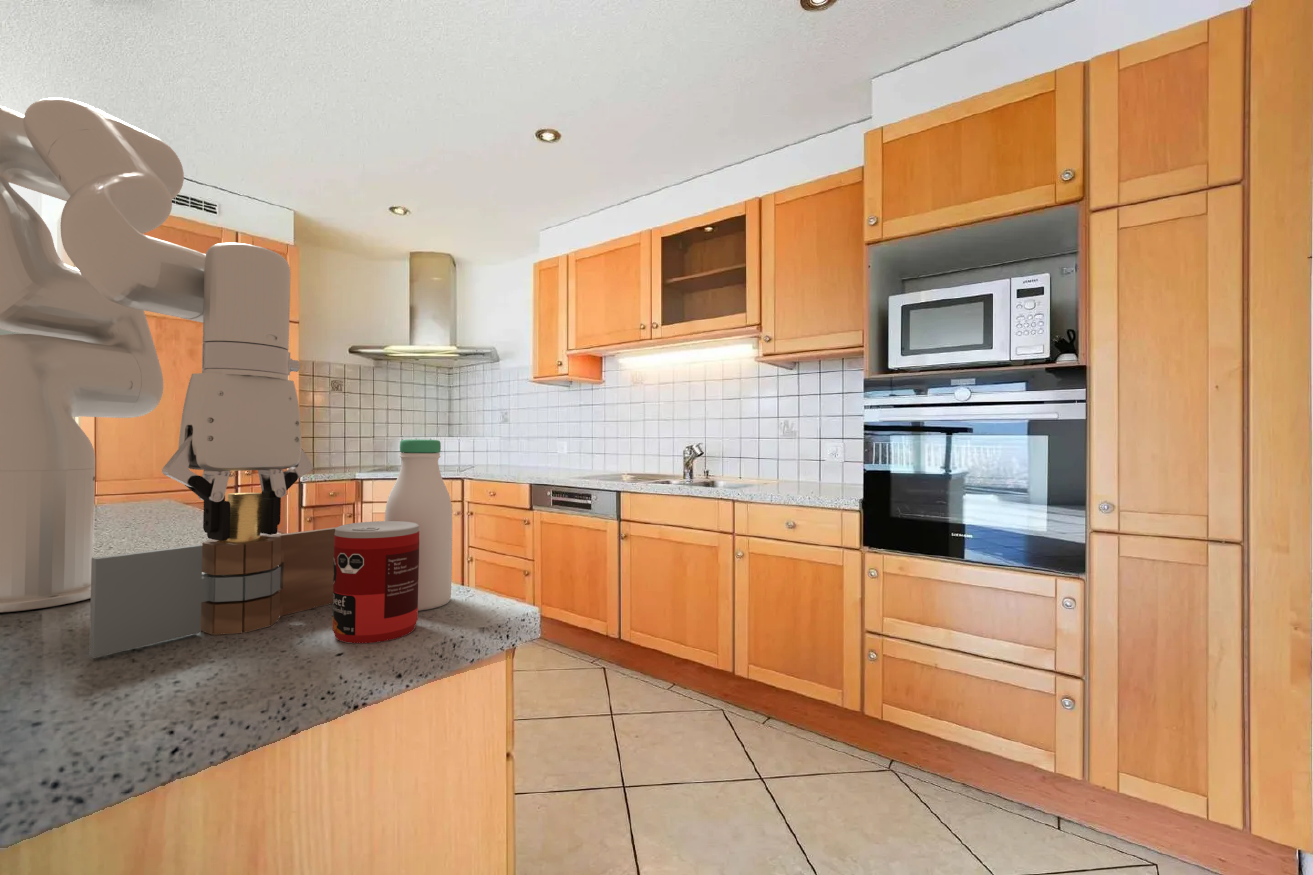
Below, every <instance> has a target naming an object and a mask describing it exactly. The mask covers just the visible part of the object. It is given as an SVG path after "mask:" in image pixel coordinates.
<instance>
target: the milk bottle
mask: <svg viewBox="0 0 1313 875" xmlns="http://www.w3.org/2000/svg"><path fill="white" fill-rule="evenodd" d="M441 443H442V442H441V441H440V440H439V439H418V438H416V439H412V438H411V439H401V440H400V442H399V452H400V455H399V458H401V466H400V469H399V473H398V475H397V478H396V481H395V483H394V484H393V486H392V488H391V490H390V492H389V496H388V497H387V501H386V503H385V504H386V505H385V511H384V521H403V522H412V523H416V524H418V525H419V579H418V612H419V611H426V610H432V609H437V608H439V607H442V606H445V605H447V604H448V603H449V602H450V599H451V597H452V573H453V572H452V570H453V569H452V568H453V567H452V566H453V508H452V501H451V496H450V494H449V493H450V492H449V491H448V490H449V489H448V488H447V486H446V484H445V482H444V480H443V476H442V474H441V470H440V466H439V458H441V449H442V448H441V446H442V445H441Z"/></svg>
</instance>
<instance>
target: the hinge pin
mask: <svg viewBox="0 0 1313 875" xmlns="http://www.w3.org/2000/svg"><path fill="white" fill-rule="evenodd" d="M226 501H229V502H230V538H229V539H227V540H226V541H225V544H226V543H248V542H256V541H260V535H261V533H260V529H261V508H262V492H234V493H233V492H231V493H227V500H226ZM253 573H258V572H253ZM247 574H252V573H247ZM233 575H246V574H245V573H244V574H233ZM224 576H230V575H224Z"/></svg>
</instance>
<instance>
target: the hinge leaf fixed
mask: <svg viewBox="0 0 1313 875" xmlns="http://www.w3.org/2000/svg"><path fill="white" fill-rule="evenodd" d="M336 527H337V526H336ZM336 527H335V526H334V527H327V528H321V529H320V528H319V529H311V530H305V531H296V532H289V533H281V534H279V533H278V534H272V535H269V534H260V541H256V542H248V543H226V544H225V541H226V540H224V541H219V540H214V539H209V540H206V541H205V540H204V541H203V542H202V544H201V545H202V574H204V573H207V574H211V575H233V574H244V573H245V574H247V573H253V572H259V571H265V570H271V569H273V568H275V567H277V566H280V567H281V574H280V589H279V590H278V591H276V592H275V593H273V594H271V595H268V596H263V597H258V598H254V599H249V600H243V601H225V602H211V601H206V602H201V631H202V632H203V633H205V634H209V635H211V636H212V635H214V636H216V635H217V636H218V635H233V634H242V633H249V632H252V631H256V630H261V629H265V628H268V627H270V626H273V625H274V624H275V623H277V622H278V621H279V620H281V619H280V617H282V616H287V615H291V614H294V613H299V612H303V611H307V610H311V609H315V608H320V607H323V606H328V605H333V566H334V534H335V528H336Z"/></svg>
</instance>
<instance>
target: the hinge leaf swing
mask: <svg viewBox="0 0 1313 875" xmlns="http://www.w3.org/2000/svg"><path fill="white" fill-rule="evenodd" d="M280 574H281V567H280V566H277V567H275V568H273V569H271V570H265V571H259V572H258V573H252V574H246V575H230V576H224V575H211V574H207V573H203V572H202V544H201V545H200V544H191V545H185V546H176V547H169V548H167V547H166V548H159V549H151V550H144V551H135V552H128V553H121V554H120V553H118V554H113V555H104V556H97V557H96V556H95V557H93V558H92V562H91V598H90V610H89V611H90V612H89V615H90V616H89V617H90V619H89V653H88V656H89V657H91V658H93V659H95V658H98V657H103V656H107V655H112V654H116V653H120V652H124V651H129V650H133V649H138V648H141V647H144V646H151V645H153V644H157V643H158V644H159V643H161V642H166V641H170V640H173V639H174V640H175V639H178V638H182V637H188V636H192V635H195V634H200V633H201V602H206V601H211V602H225V601H243V600H249V599H254V598H258V597H263V596H268V595H271V594H273V593H275V592H276V591H278V590H279V589H280Z"/></svg>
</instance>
